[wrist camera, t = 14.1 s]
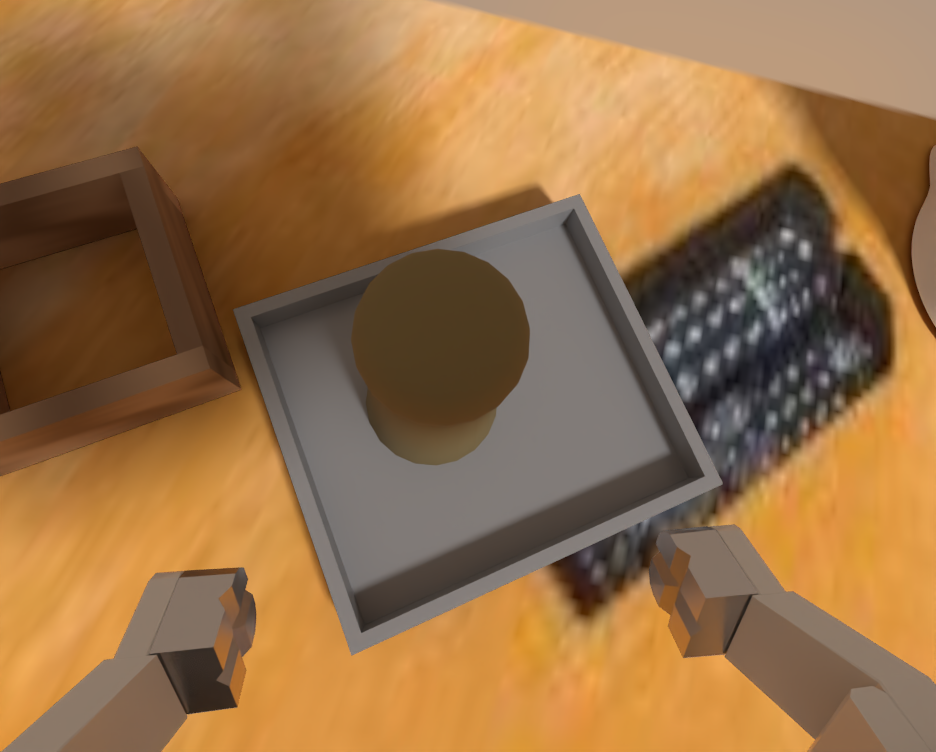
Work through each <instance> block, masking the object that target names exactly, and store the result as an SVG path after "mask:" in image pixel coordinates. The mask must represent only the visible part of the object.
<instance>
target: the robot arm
mask: <svg viewBox="0 0 936 752" xmlns="http://www.w3.org/2000/svg"><path fill="white" fill-rule="evenodd" d="M929 171H930V189H929V192H928V195H927V198H926V200H925V202H924V204H923V206H922V208H921V210H920V212H919V214H918V217H917V220H916V223H915V227H914V231H913V237H912V264H913V271H914V276H915V281H916V284H917V288H918V291H919V294H920V297H921V299H922V302H923V304H924V306H925V309H926V311H927V313H928V315H929V317H930V318H931V320H932V322H933V324H934V325H935V327H936V145H934V147H933V148H932V150H931V153H930V162H929ZM656 545H657V547H658V549H659V551H660V552H659V553H658V554H656V555H655V556H654V557H653V558H652V560H651V564H650V568H649V576H650V585H651V588H652V592H653V595H654V597H655V599H656V602H657V604H658V606H659V607H661V608H662V609H663V610H664V611H666V612H667V613H668V614H670V615H671V616H670V620H669V624H668V627H669V629H670V632H671V634H672V636H673V638H674V640H675V642H676V644H677V646H678V648H679V650H680V653H681V655H682V657H683V658H688V657H700V656H712V655H725V654H726V655H725V658H727V659H728V660H729V661H730V662H731V663H732V664H733V665H734V666H735V667H736V668H737V669H739V670H740V671H741V672H742V673H743V674H744V675H745V676H746V677H747V678H748V679H749V680H751V681H752V682H753V683H754V684H755V685H756V686H757V687H758V688H759V689H760V690H762V691H763V692H764V693H765V694H766V695H767V696H768V697H769V698H770V699H771V700H772V701H774V702H775V703H776V704H777V705H778V706H779V707H780V708H781V709H782V710H783V711H785V712H786V713H787V714H788V715H789V716H790V717H791V718H792V719H793V720H794V721H795V722H797V723H798V724H799V725H800V726H801V727H802V728H803V729H804V730H805V731H806V732H808V733H809V734H810V735H811V736H812V737H813V738H814V739H815V741H814V743H813V744H812V746H811V747H810V748H809V750H808V751H807V752H936V685H935V684H934V682H933V681H932V680H931V679H930V678H929V677H928V676H926V675H925V674H923V673H922V672H920V671H918V670H917V669H915V668H914V667H912V666H910V665H909V664H907V663H906V662H904V661H903V660H901V659H899V658H898V657H896V656H895V655H893V654H891V653H890V652H888V651H887V650H885V649H884V648H882V647H880V646H879V645H877V644H876V643H874V642H872V641H871V640H869V639H868V638H866V637H865V636H863V635H861V634H860V633H858V632H857V631H855V630H853V629H852V628H850V627H849V626H847V625H846V624H844V623H842V622H841V621H839V620H838V619H836V618H834V617H833V616H831V615H830V614H828V613H827V612H825V611H823V610H822V609H820V608H819V607H817V606H815V605H814V604H812V603H811V602H809V601H808V600H806V599H804V598H803V597H801V596H800V595H798V594H796V593H795V592H793V591H791V592H786V591H785V590H784V588H783V587H782V586H781V584H780V583H779V582H778V580H777V579H776V577H775V576H774V575H773V573H772V572H771V570H770V569H769V568H768V566H767V565H766V563H765V562H764V561H763V559H762V558H761V557H760V555H759V554H758V552H757V551H756V550H755V548H754V547H753V545H752V544H751V543H750V541H749V540H748V538H747V537H746V536H745V534H744V533H743V532H742V530H741V529H740V528H739V527H737V526H736V525H724V526H712V527H707V526H706V527H696V528H686V529H676V530H666V531H662V532H661V533H660V534H659V536H658V539H657V542H656ZM247 581H248V578H247V575H246V573H245V570H244V568H223V569H206V570H189V571H176V572H162V573H156V574H155V575H154V576H153V577H152V578H151V579H150V580H149V581H148V583H147V586H146V588H145V590H144V592H143V594H142V597H141V599H140V601H139V603H138V606H137V608H136V610H135V612H134V614H133V617H132V619H131V621H130V623H129V625H128V628H127V630H126V632H125V634H124V636H123V639H122V641H121V643H120V645H119V647H118V650H117V652H116V654H115V656H114V658H113V659H107V660H104V661H102V662H101V663H100V664H99V665H98V666H97V667H96V668H95V669H94V670H92V671H91V672H90V673H89V674H88V675H87V676H86V677H85V678H83V679H82V680H81V681H80V682H79V683H78V684H77V685H76V686H74V687H73V688H72V689H71V690H70V691H69V692H68V693H67V694H66V695H64V696H63V697H62V698H61V699H60V700H59V701H58V702H57V703H55V704H54V705H53V706H52V707H51V708H50V709H49V710H48V711H47V712H45V713H44V714H43V715H42V716H41V717H40V718H39V719H38V720H36V721H35V722H34V723H33V724H32V725H31V726H30V727H29V728H27V729H26V730H25V731H24V732H23V733H22V734H21V735H20V736H19V737H17V738H16V739H15V740H14V741H13V742H12V743H11V744H10V745H8V746H7V747H6V748H5V749H4V750H3V751H2V752H161V751H162V750H163V748H164V747H165V746H166V745H167V743H168V742H169V741H170V739H171V738H172V737H173V736H174V734H175V733H176V732H177V730H178V729H179V728H180V727H181V725H182V724H183V723H184V721H185V720H186V719H187V715H186V714H193V713H200V712H208V711H215V710H222V709H229V708H236V707H238V703H239V699H240V695H241V691H242V686H243V682H244V678H245V674H246V668H245V665H244V662H243V659H242V657H243V656H244V654H245V653H246V652H247V651H248V650H249V649H250V648H251V647H252V643H253V638H254V634H255V625H256V608H255V601H254V598H253V595H252V594H251V593H249V592H248V591H246V590H245V588H246V584H247Z"/></svg>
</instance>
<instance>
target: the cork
mask: <svg viewBox="0 0 936 752" xmlns="http://www.w3.org/2000/svg"><path fill="white" fill-rule="evenodd" d="M529 342H530V327H529V323H528V319H527V315H526V312H525V308H524V304H523V301H522V299H521V298H520V296H519V295H518V293H517V292H516V290H515V288H514V287H513V285H512V284H511V282H510V281H509V279H508V278H506V277H505V276H504V275H503V274H502V273H500V272H499V271H498V270H497V269H496V268H495V267H493V266H492V265H491V264H490V263H489V262H486V261H484V260H482V259H479V258H477V257H475V256H472V255H470V254H468V253H465V252H461V251H452V250H444V249H433V250H427V251H421V252H416V253H411V254H409V255H407V256H405V257H403V258H401V259H399V260H397V261H395V262H393V263H391V264H389V265H387V266H386V267H385V268H384V269H383V270H382V271H381V272H380V273H379V274H378V275H377V276H376V277H375V278H374V279H373V280H372V281H371V282H370V283H369V285H368V287H367V289H366V291H365V293H364V294H363V296H362V298H361V300H360V302H359V304H358V306H357V308H356V311H355V314H354V321H353V328H352V335H351V343H352V348H353V353H354V358H355V363H356V367H357V369H358V371H359V373H360V375H361V376H362V378H363V380H364V382H365V383H366V385H367V387H368V389H367V397H366V407H367V412H368V417H369V422H370V424H371V426H372V428H373V430H374V431H375V433H376V435H377V437H378V438H379V440H380V441H381V442H382V443H383V444H384V445H385V446H386V447H387V448H388V449H389V450H391V451H392V452H393V453H394V454H395V455H397V456H399V457H401V458H404V459H406V460H408V461H410V462H413V463H415V464H425V465H441V464H445V463H450V462H454V461H457V460H459V459H461V458H462V457H464V456H466V455H467V454H469V453H471V452H472V451H474V450H475V449H476V448H477V447H478V446H479V445H480V443H481V442H482V441H483V440H484V439H485V438H486V436H487V435H488V434H489V431H490V429H491V426H492V424H493V422H494V419H495V417H496V409H497V407H498V406H499V405H500V404H501V403H502V402H503V400H504V399H505V398H506V397H507V396H508V395H509V393H510V392H511V391H512V390H513V389H514V388H515V387H516V385H517V384H518V383H519V380H520V378H521V376H522V373H523V371H524V368H525V366H526V363H527V361H528V358H529Z"/></svg>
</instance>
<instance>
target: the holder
mask: <svg viewBox="0 0 936 752" xmlns="http://www.w3.org/2000/svg"><path fill="white" fill-rule="evenodd" d="M134 229H137V230H138V233H139V236H140V239H141V242H142V245H143V249H144V252H145V255H146V258H147V261H148V264H149V267H150V271H151V274H152V277H153V280H154V283H155V286H156V290H157V293H158V296H159V299H160V302H161V305H162V308H163V312H164V315H165V318H166V321H167V324H168V327H169V330H170V334H171V337H172V340H173V343H174V346H175V349H176V353H177V355H174V356H171V357H168V358H165V359H162V360H159V361H156V362H153V363H150V364H147V365H144V366H142V367H139V368H136V369H133V370H130V371H127V372H124V373H121V374H118V375H115V376H112V377H109V378H106V379H103V380H100V381H98V382H95V383H92V384H89V385H86V386H83V387H80V388H77V389H74V390H71V391H68V392H65V393H62V394H59V395H56V396H54V397H51V398H48V399H45V400H42V401H39V402H36V403H33V404H30V405H27V406H24V407H21V408H18V409H15V410H12V411H10V409H9V405H8V401H7V397H6V393H5V389H4V385H3V381H2V377H1V373H0V476H2V475H5V474H8V473H11V472H14V471H16V470H19V469H22V468H25V467H28V466H30V465H33V464H36V463H39V462H41V461H44V460H47V459H50V458H53V457H55V456H58V455H61V454H64V453H66V452H69V451H72V450H75V449H78V448H80V447H83V446H86V445H89V444H91V443H94V442H97V441H100V440H103V439H105V438H108V437H111V436H114V435H117V434H119V433H122V432H125V431H128V430H130V429H133V428H136V427H139V426H142V425H144V424H147V423H150V422H153V421H155V420H158V419H161V418H164V417H167V416H169V415H172V414H175V413H178V412H180V411H183V410H186V409H189V408H192V407H194V406H197V405H200V404H203V403H206V402H208V401H211V400H214V399H217V398H219V397H222V396H225V395H228V394H231V393H233V392H236V391H239V390H241V387H240V384H239V381H238V378H237V375H236V372H235V369H234V366H233V363H232V360H231V357H230V354H229V351H228V348H227V345H226V342H225V339H224V336H223V333H222V330H221V327H220V324H219V321H218V318H217V315H216V312H215V309H214V306H213V303H212V301H211V298H210V295H209V292H208V289H207V286H206V283H205V280H204V277H203V274H202V271H201V268H200V265H199V262H198V259H197V256H196V253H195V250H194V247H193V244H192V241H191V238H190V235H189V232H188V229H187V226H186V223H185V220H184V217H183V214H182V211H181V208H180V205H179V203H178V200H177V197H176V196H175V195H174V193H173V192H172V191H171V190H170V188H169V187H168V186H167V184H166V183H165V182H164V180H163V179H162V178H161V177H160V175H159V174H158V173H157V171H156V170H155V169H154V167H153V166H152V165H151V164H150V162H149V161H148V160H147V158H146V157H145V156H144V155H143V153H142V152H141V151H140V149H139V148H138V147H134V148H130V149H127V150H123V151H119V152H115V153H112V154H108V155H104V156H101V157H97V158H93V159H90V160H86V161H82V162H79V163H75V164H71V165H68V166H64V167H60V168H57V169H53V170H49V171H46V172H42V173H38V174H34V175H31V176H27V177H23V178H20V179H16V180H12V181H9V182H5V183H1V184H0V269H3V268H6V267H9V266H13V265H16V264H19V263H23V262H26V261H30V260H33V259H36V258H40V257H43V256H46V255H50V254H53V253H56V252H60V251H63V250H67V249H70V248H73V247H77V246H80V245H83V244H87V243H90V242H93V241H97V240H100V239H104V238H107V237H110V236H114V235H117V234H120V233H124V232H127V231H130V230H134Z"/></svg>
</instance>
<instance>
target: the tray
mask: <svg viewBox="0 0 936 752" xmlns="http://www.w3.org/2000/svg"><path fill="white" fill-rule="evenodd" d="M433 249H444V250H452V251H461V252H465V253H468V254H470V255H472V256H475V257H477V258H479V259H482V260H484V261H486V262H489V263H490V264H491V265H492V266H493V267H495V268H496V269H497V270H498V271H499V272H500V273H502V274H503V275H504V276H505V277H506V278H508V279H509V281H510V282H511V284H512V285H513V287H514V288H515V290H516V292H517V293H518V295H519V296H520V298H521V299H522V301H523V304H524V308H525V312H526V315H527V319H528V323H529V327H530V342H529V358H528V361H527V363H526V366H525V368H524V371H523V373H522V376H521V378H520V380H519V383H518V384H517V385H516V387H515V388H514V389H513V390H512V391H511V392H510V393H509V395H508V396H507V397H506V398H505V399H504V400H503V402H502V403H501V404H500V405H499V406H498V407H497V409H496V417H495V419H494V422H493V424H492V426H491V429H490V431H489V434H488V435H487V436H486V438H485V439H484V440H483V441H482V442H481V443H480V445H479V446H478V447H477V448H476V449H475V450H474V451H472V452H471V453H469V454H467V455H466V456H464V457H462V458H461V459H459V460H457V461H454V462H450V463H445V464H441V465H425V464H415V463H413V462H410V461H408V460H406V459H404V458H401V457H399V456H397V455H395V454H394V453H393V452H392V451H391V450H389V449H388V448H387V447H386V446H385V445H384V444H383V443H382V442H381V441H380V440H379V438H378V437H377V435H376V433H375V431H374V430H373V428H372V426H371V424H370V422H369V417H368V412H367V407H366V397H367V389H368V387H367V385H366V383H365V382H364V380H363V378H362V376H361V375H360V373H359V371H358V369H357V367H356V363H355V358H354V353H353V348H352V343H351V335H352V328H353V321H354V314H355V311H356V308H357V306H358V304H359V302H360V300H361V298H362V296H363V294H364V293H365V291H366V289H367V287H368V285H369V283H370V282H371V281H372V280H373V279H374V278H375V277H376V276H377V275H378V274H379V273H380V272H381V271H382V270H383V269H384V268H385V267H386V266H387V265H389V264H391V263H393V262H395V261H397V260H399V259H401V258H403V257H405V256H407V255H409V254H411V253H416V252H421V251H427V250H433ZM233 311H234V314H235V317H236V320H237V323H238V326H239V329H240V332H241V335H242V338H243V340H244V343H245V346H246V349H247V352H248V355H249V358H250V361H251V364H252V367H253V370H254V372H255V375H256V378H257V381H258V384H259V387H260V390H261V393H262V396H263V399H264V402H265V405H266V407H267V410H268V413H269V416H270V419H271V422H272V425H273V428H274V431H275V434H276V437H277V439H278V442H279V445H280V448H281V451H282V454H283V457H284V460H285V463H286V466H287V469H288V471H289V474H290V477H291V480H292V483H293V486H294V489H295V492H296V495H297V498H298V501H299V503H300V506H301V509H302V512H303V515H304V518H305V521H306V524H307V527H308V530H309V533H310V536H311V538H312V541H313V544H314V547H315V550H316V553H317V556H318V559H319V562H320V565H321V568H322V570H323V573H324V576H325V579H326V582H327V585H328V588H329V591H330V594H331V597H332V600H333V602H334V605H335V608H336V611H337V614H338V617H339V620H340V623H341V626H342V629H343V632H344V634H345V637H346V640H347V643H348V646H349V649H350V652H351V655H354V654H356V653H358V652H360V651H363V650H365V649H367V648H369V647H371V646H373V645H376V644H378V643H380V642H382V641H384V640H386V639H389V638H391V637H393V636H395V635H397V634H399V633H401V632H404V631H406V630H408V629H410V628H412V627H414V626H417V625H419V624H421V623H423V622H425V621H427V620H430V619H432V618H434V617H436V616H438V615H440V614H443V613H445V612H447V611H449V610H451V609H453V608H456V607H458V606H460V605H462V604H464V603H466V602H469V601H471V600H473V599H475V598H477V597H479V596H482V595H484V594H486V593H488V592H490V591H492V590H495V589H497V588H499V587H501V586H503V585H505V584H508V583H510V582H512V581H514V580H516V579H518V578H521V577H523V576H525V575H527V574H529V573H531V572H533V571H536V570H538V569H540V568H542V567H544V566H546V565H549V564H551V563H553V562H555V561H557V560H559V559H562V558H564V557H566V556H568V555H570V554H572V553H575V552H577V551H579V550H581V549H583V548H585V547H588V546H590V545H592V544H594V543H596V542H598V541H601V540H603V539H605V538H607V537H609V536H611V535H614V534H616V533H618V532H620V531H622V530H624V529H627V528H629V527H631V526H633V525H635V524H637V523H640V522H642V521H644V520H646V519H648V518H650V517H652V516H655V515H657V514H659V513H661V512H663V511H665V510H668V509H670V508H672V507H674V506H676V505H678V504H681V503H683V502H685V501H687V500H689V499H691V498H694V497H696V496H698V495H700V494H702V493H704V492H707V491H709V490H711V489H713V488H715V487H717V486H720V485H722V484H723V483H722V481H721V479H720V477H719V475H718V473H717V471H716V469H715V467H714V465H713V463H712V461H711V459H710V457H709V455H708V453H707V451H706V449H705V446H704V444H703V442H702V440H701V438H700V436H699V434H698V432H697V430H696V428H695V426H694V424H693V422H692V420H691V418H690V416H689V414H688V412H687V410H686V408H685V406H684V404H683V402H682V400H681V398H680V396H679V394H678V392H677V390H676V388H675V386H674V384H673V382H672V380H671V378H670V376H669V374H668V372H667V370H666V368H665V366H664V364H663V362H662V359H661V357H660V355H659V353H658V351H657V349H656V347H655V345H654V343H653V341H652V339H651V337H650V335H649V333H648V331H647V329H646V327H645V325H644V323H643V321H642V319H641V317H640V315H639V313H638V311H637V309H636V307H635V305H634V303H633V301H632V299H631V297H630V295H629V293H628V291H627V289H626V287H625V285H624V283H623V281H622V279H621V277H620V275H619V273H618V270H617V268H616V266H615V264H614V262H613V260H612V258H611V256H610V254H609V252H608V250H607V248H606V246H605V244H604V242H603V240H602V238H601V236H600V234H599V232H598V230H597V228H596V226H595V224H594V222H593V220H592V218H591V216H590V214H589V212H588V210H587V208H586V206H585V204H584V202H583V200H582V198H581V196H580V194H578V195H575V196H572V197H569V198H566V199H563V200H560V201H557V202H554V203H551V204H548V205H545V206H542V207H539V208H536V209H533V210H530V211H527V212H524V213H521V214H518V215H515V216H512V217H509V218H506V219H503V220H500V221H497V222H494V223H491V224H488V225H485V226H482V227H479V228H476V229H473V230H470V231H467V232H464V233H461V234H458V235H455V236H452V237H449V238H446V239H443V240H440V241H437V242H434V243H431V244H428V245H425V246H422V247H419V248H416V249H413V250H410V251H407V252H404V253H401V254H398V255H395V256H392V257H389V258H386V259H383V260H380V261H377V262H374V263H371V264H368V265H365V266H362V267H359V268H356V269H353V270H350V271H347V272H344V273H341V274H338V275H335V276H332V277H329V278H326V279H323V280H320V281H317V282H314V283H311V284H308V285H305V286H302V287H299V288H296V289H293V290H290V291H287V292H284V293H281V294H278V295H275V296H272V297H269V298H266V299H263V300H260V301H257V302H254V303H251V304H248V305H245V306H242V307H239V308H236V309H233Z"/></svg>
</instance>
